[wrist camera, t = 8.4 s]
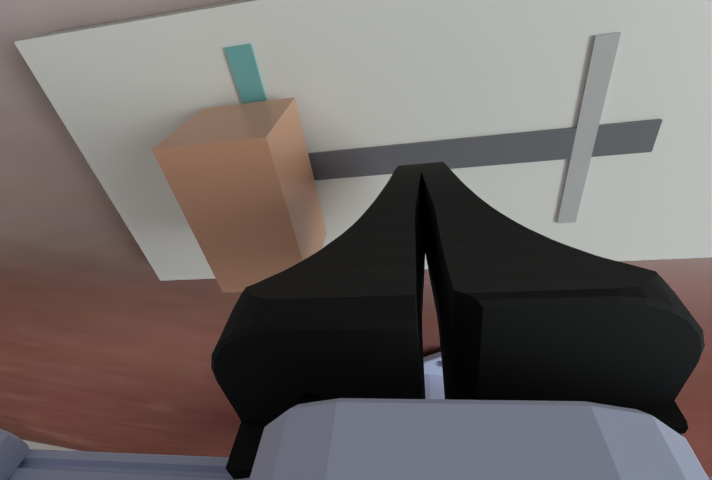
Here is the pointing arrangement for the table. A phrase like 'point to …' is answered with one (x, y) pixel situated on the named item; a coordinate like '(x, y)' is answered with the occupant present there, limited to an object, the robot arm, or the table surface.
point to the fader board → (415, 109)
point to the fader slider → (245, 189)
